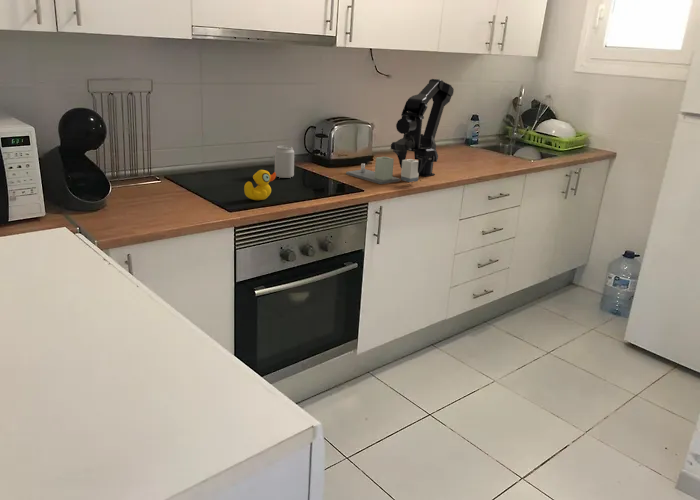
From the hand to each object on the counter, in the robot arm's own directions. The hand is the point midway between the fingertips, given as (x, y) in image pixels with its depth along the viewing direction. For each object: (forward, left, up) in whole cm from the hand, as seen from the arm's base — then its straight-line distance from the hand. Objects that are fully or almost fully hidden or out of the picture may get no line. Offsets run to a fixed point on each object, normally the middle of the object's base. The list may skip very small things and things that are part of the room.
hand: (410, 170), depth 233 cm
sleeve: (0, 0, -4) cm, 4 cm away
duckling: (+68, -6, -4) cm, 68 cm away
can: (+41, -29, -4) cm, 50 cm away
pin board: (+10, -11, -4) cm, 15 cm away
